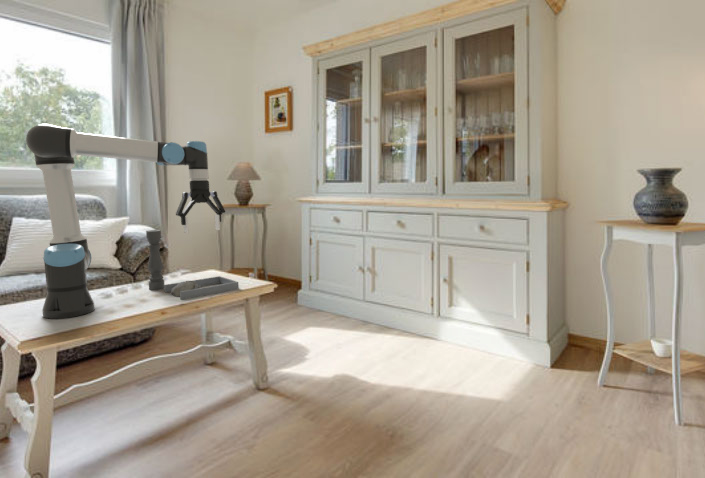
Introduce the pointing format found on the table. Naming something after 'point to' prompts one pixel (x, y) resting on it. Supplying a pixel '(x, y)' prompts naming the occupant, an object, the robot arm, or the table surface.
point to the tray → (225, 286)
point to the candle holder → (155, 260)
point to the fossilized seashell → (184, 287)
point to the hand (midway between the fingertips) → (202, 231)
